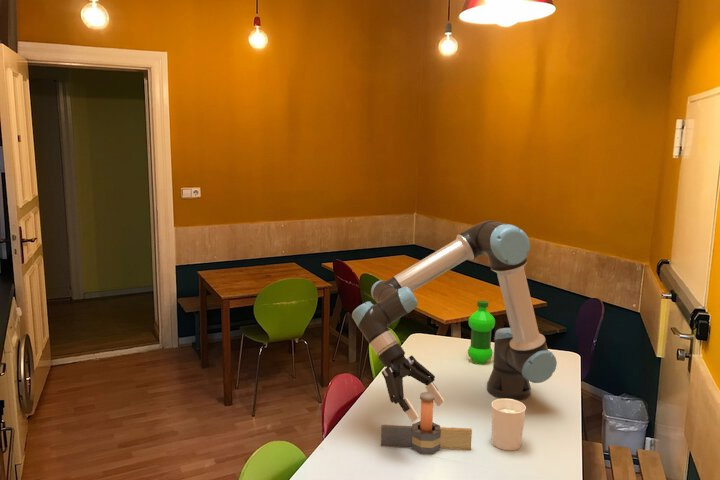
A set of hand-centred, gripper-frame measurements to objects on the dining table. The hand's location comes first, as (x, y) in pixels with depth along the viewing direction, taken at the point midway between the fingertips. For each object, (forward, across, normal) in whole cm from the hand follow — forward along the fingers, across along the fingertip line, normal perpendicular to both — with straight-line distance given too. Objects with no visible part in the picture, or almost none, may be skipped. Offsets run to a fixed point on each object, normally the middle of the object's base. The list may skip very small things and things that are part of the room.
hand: (429, 411), depth 169 cm
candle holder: (+20, -17, +3) cm, 27 cm away
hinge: (+7, 0, -9) cm, 11 cm away
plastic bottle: (-7, -73, -23) cm, 77 cm away
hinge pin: (+7, 0, -9) cm, 11 cm away
